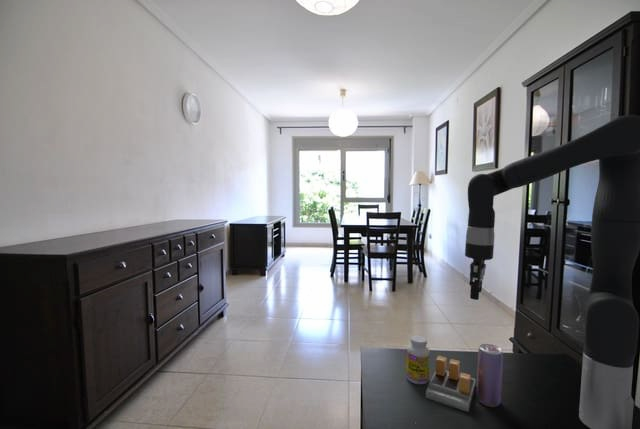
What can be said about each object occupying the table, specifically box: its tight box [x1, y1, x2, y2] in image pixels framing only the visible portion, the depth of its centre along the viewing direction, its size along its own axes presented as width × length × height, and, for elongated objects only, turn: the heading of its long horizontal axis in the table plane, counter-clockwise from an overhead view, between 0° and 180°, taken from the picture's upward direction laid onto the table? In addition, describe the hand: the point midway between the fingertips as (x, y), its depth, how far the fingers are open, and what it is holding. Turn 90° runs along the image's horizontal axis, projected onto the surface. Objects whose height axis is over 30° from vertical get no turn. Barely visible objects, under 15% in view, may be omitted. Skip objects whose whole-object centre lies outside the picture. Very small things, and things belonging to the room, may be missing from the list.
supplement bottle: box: [405, 335, 431, 385], centre depth 100 cm, size 7×7×13 cm
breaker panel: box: [425, 370, 476, 413], centre depth 94 cm, size 11×14×3 cm
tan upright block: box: [459, 371, 472, 394], centre depth 90 cm, size 2×3×5 cm
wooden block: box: [435, 355, 447, 376], centre depth 99 cm, size 2×3×5 cm
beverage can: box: [476, 343, 504, 408], centre depth 89 cm, size 6×6×15 cm
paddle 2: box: [448, 358, 461, 380], centre depth 97 cm, size 2×3×5 cm
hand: (475, 295), depth 98 cm, fingers open, 8 cm apart
